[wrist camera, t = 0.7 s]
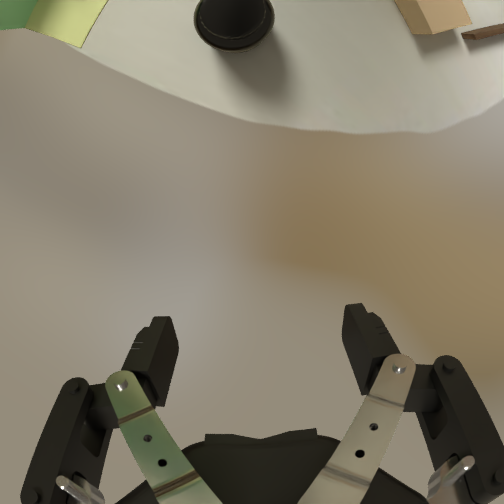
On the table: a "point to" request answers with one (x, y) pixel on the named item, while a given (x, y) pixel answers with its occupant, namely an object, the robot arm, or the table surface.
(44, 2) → the display stand
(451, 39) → the table surface
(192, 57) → the table surface
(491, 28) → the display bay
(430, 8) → the carton
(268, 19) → the supplement bottle
